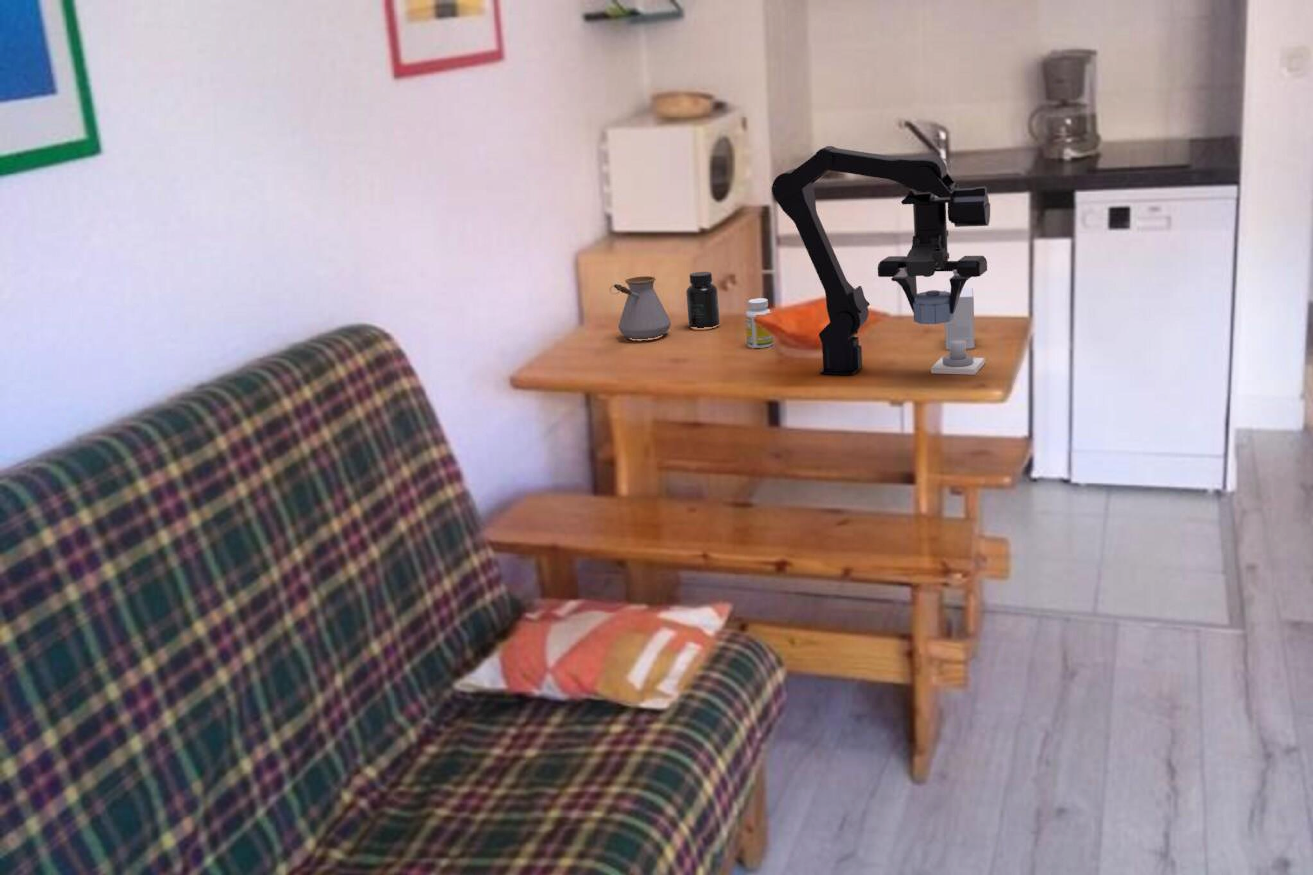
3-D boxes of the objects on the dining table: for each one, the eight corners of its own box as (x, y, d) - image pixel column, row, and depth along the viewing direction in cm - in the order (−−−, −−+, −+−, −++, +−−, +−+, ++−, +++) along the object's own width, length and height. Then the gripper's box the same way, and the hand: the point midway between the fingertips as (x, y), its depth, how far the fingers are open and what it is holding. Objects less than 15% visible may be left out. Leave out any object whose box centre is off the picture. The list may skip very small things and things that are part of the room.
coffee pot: (630, 330, 307) (624, 264, 302) (679, 330, 303) (673, 263, 298) (594, 355, 288) (587, 285, 283) (646, 356, 284) (639, 284, 279)
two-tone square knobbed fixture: (931, 373, 253) (930, 346, 252) (942, 361, 260) (941, 336, 259) (974, 374, 250) (973, 348, 248) (984, 363, 256) (984, 337, 255)
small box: (974, 349, 267) (973, 296, 264) (945, 350, 268) (944, 297, 265) (973, 339, 274) (973, 287, 271) (945, 340, 275) (944, 288, 272)
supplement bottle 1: (704, 322, 308) (700, 269, 305) (726, 325, 304) (722, 272, 300) (682, 328, 304) (678, 275, 300) (705, 332, 299) (701, 278, 296)
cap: (910, 323, 249) (909, 295, 247) (921, 315, 254) (920, 287, 253) (946, 324, 246) (945, 295, 244) (956, 315, 251) (955, 287, 250)
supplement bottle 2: (743, 348, 283) (740, 302, 280) (754, 342, 287) (751, 297, 284) (766, 349, 280) (764, 303, 277) (777, 343, 285) (775, 297, 282)
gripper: (865, 236, 243) (870, 322, 247) (969, 235, 234) (972, 324, 239) (885, 225, 252) (889, 308, 257) (986, 223, 243) (989, 309, 248)
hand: (933, 313), depth 250 cm, fingers closed on cap, 7 cm apart
